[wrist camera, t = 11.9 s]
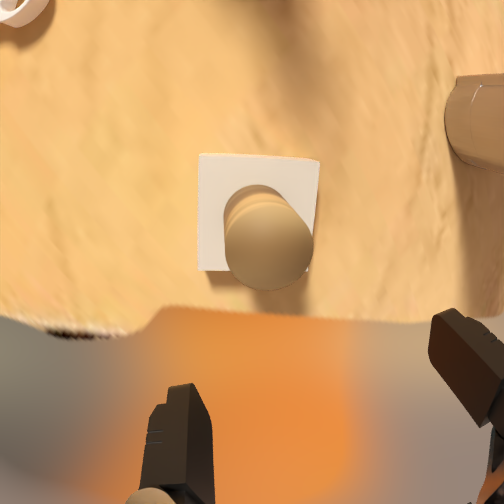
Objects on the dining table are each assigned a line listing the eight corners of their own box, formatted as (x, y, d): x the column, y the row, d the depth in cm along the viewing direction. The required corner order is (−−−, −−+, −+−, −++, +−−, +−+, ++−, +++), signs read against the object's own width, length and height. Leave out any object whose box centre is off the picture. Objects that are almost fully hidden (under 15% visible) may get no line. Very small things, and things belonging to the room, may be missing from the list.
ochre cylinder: (224, 183, 23) (226, 205, 17) (291, 186, 24) (318, 209, 17) (222, 247, 25) (224, 290, 19) (285, 248, 26) (307, 290, 19)
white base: (201, 153, 25) (198, 155, 22) (309, 158, 26) (320, 162, 23) (199, 256, 28) (197, 270, 26) (299, 257, 29) (307, 271, 27)
